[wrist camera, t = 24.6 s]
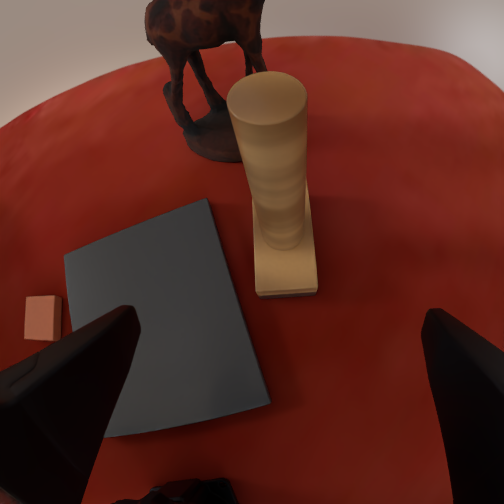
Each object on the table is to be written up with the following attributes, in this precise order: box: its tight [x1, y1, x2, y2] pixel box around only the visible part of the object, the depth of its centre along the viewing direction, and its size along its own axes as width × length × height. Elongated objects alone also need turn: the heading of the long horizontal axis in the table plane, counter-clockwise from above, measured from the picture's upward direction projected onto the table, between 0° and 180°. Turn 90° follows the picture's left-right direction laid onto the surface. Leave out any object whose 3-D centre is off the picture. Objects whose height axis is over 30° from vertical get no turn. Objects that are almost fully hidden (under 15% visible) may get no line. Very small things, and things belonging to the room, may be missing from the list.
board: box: [64, 198, 272, 438], centre depth 23 cm, size 16×14×1 cm
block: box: [24, 295, 62, 342], centre depth 24 cm, size 4×4×1 cm
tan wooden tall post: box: [227, 71, 318, 299], centre depth 17 cm, size 8×4×15 cm, turn 2°
